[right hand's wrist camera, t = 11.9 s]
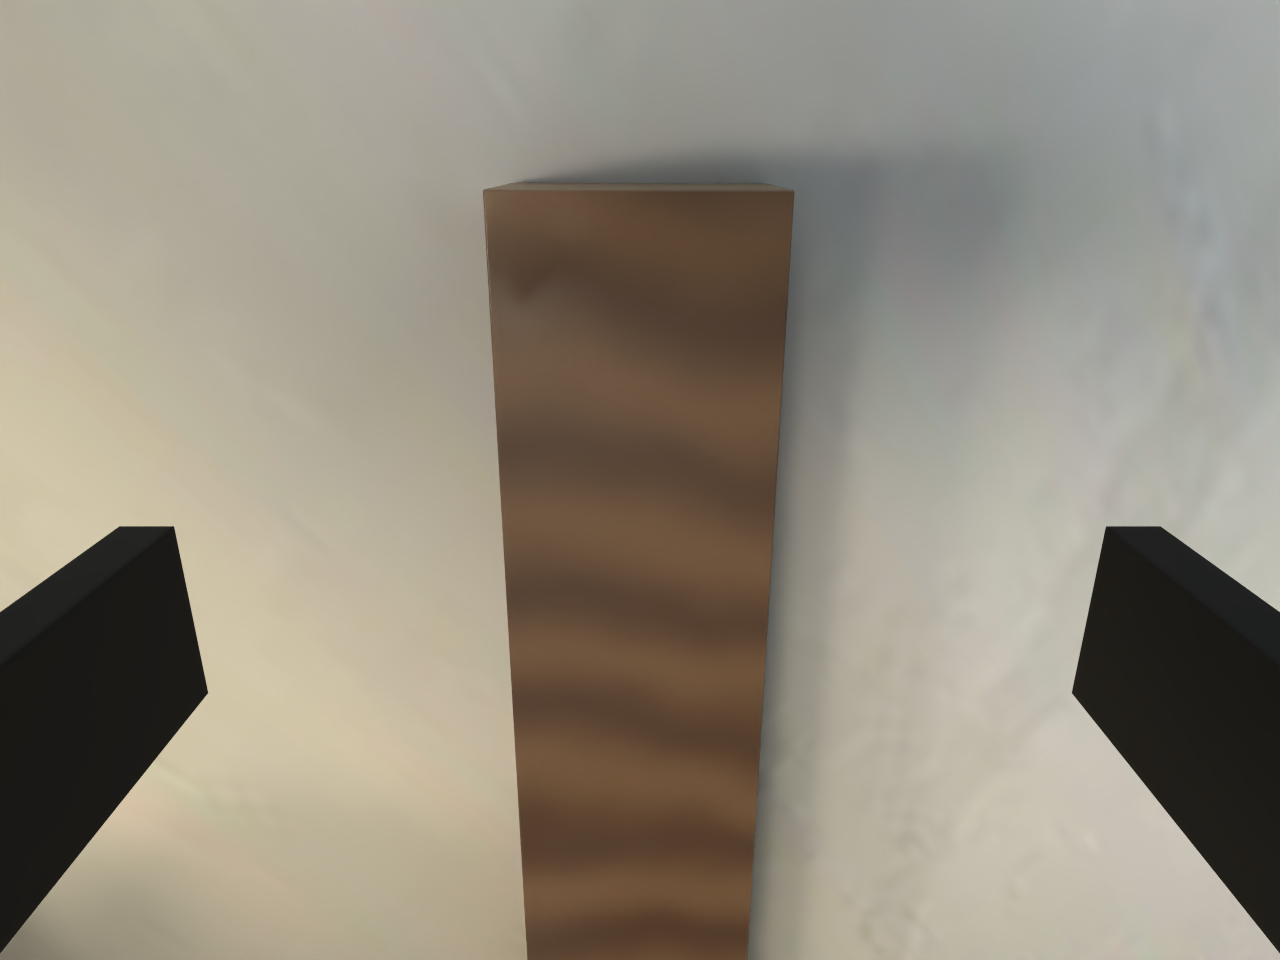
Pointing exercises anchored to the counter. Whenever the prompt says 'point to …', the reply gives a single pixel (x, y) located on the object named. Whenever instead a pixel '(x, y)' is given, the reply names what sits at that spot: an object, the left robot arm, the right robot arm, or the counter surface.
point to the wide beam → (638, 549)
